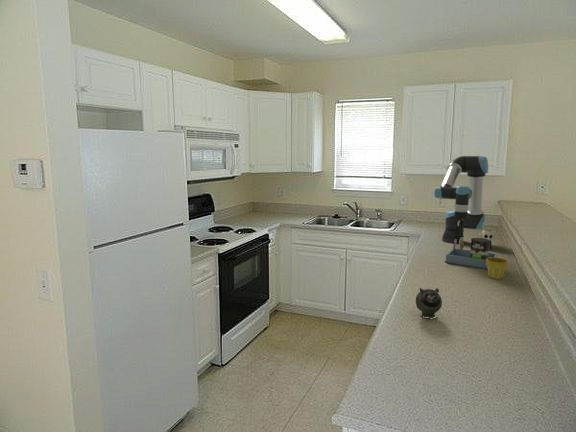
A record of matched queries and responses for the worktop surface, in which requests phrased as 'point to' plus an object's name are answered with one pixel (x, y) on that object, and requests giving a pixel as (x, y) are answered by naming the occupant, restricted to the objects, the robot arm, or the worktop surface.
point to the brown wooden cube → (460, 245)
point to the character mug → (488, 236)
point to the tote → (466, 258)
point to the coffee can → (479, 248)
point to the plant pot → (496, 267)
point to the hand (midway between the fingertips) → (458, 248)
